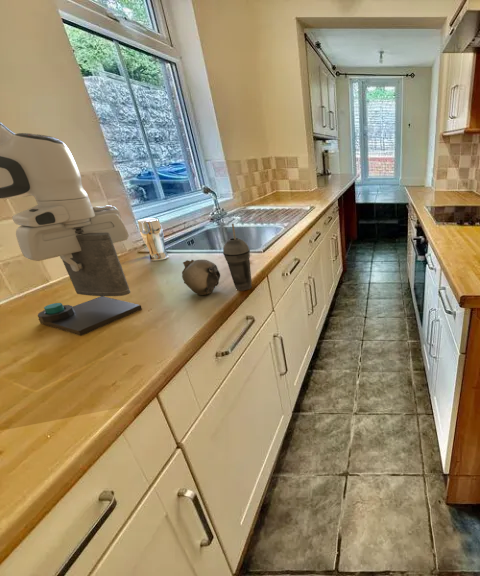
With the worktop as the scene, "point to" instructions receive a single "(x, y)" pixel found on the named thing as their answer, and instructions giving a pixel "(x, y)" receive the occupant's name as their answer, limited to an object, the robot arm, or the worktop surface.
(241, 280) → the beverage cup
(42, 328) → the worktop surface
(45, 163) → the robot arm
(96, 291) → the flask
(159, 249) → the chrome pepper mill
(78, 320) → the scale
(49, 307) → the tare button
